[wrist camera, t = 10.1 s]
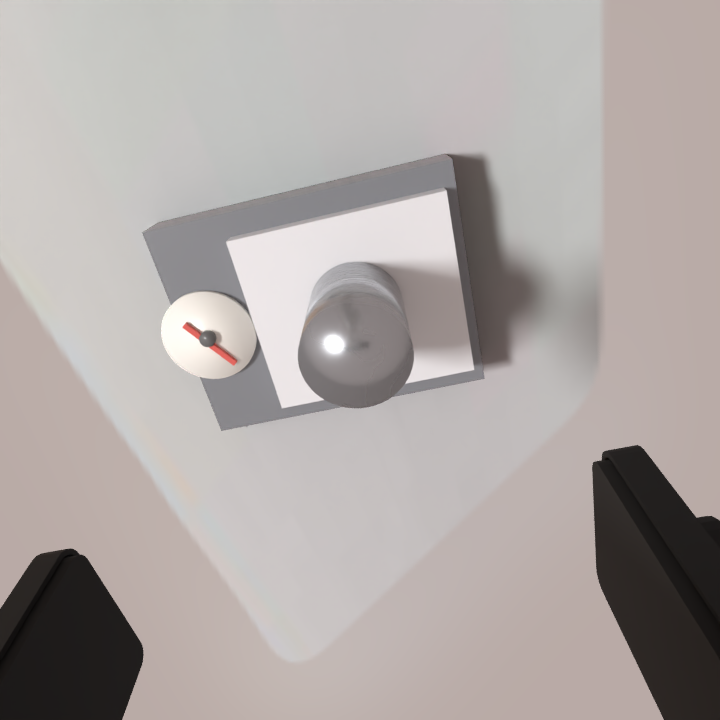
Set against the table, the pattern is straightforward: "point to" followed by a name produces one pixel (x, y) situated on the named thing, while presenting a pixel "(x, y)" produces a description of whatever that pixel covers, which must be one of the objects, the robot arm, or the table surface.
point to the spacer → (356, 337)
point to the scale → (313, 284)
